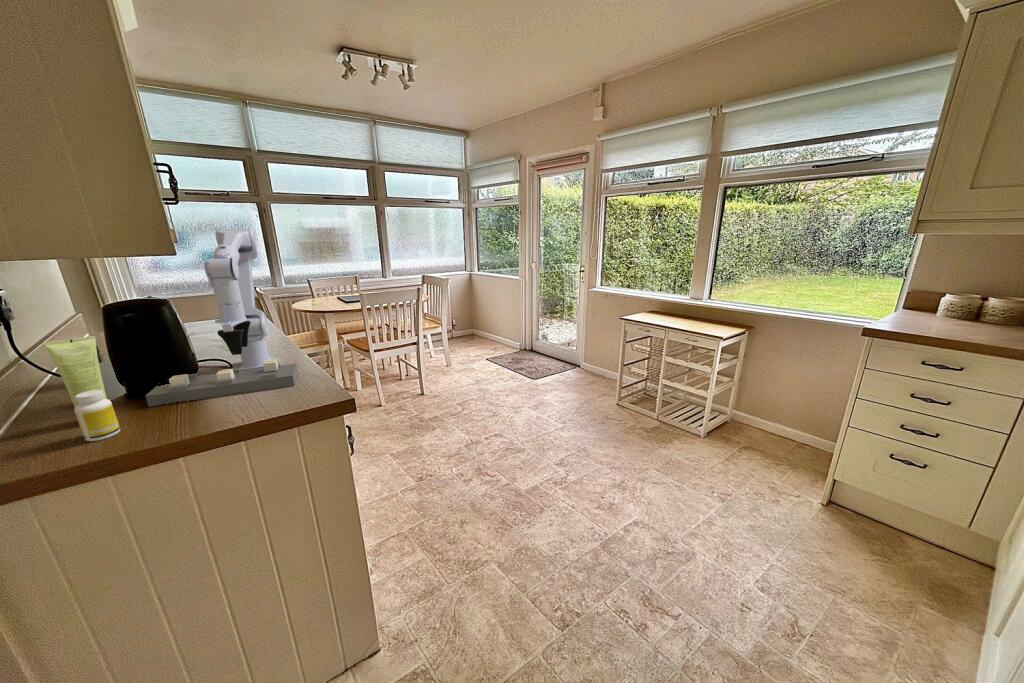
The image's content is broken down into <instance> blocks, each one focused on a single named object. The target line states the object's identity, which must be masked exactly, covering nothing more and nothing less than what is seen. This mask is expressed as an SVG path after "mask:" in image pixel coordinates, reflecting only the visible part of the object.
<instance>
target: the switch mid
mask: <svg viewBox="0 0 1024 683" xmlns="http://www.w3.org/2000/svg"><path fill="white" fill-rule="evenodd" d="M233 369H234V368H226V369H219V370H218V371H217V373H215V374H216V375H217V379H218V380H224V379H234V377H235V376H234V372H233Z"/></svg>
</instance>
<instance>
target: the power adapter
mask: <svg viewBox="0 0 1024 683" xmlns="http://www.w3.org/2000/svg"><path fill="white" fill-rule="evenodd" d="M100 354H101V357H102V360H103V362H102V363H99V367H100V372H101V376H102V381H103V385H104V389H105V393H106V397H107V399H108V400H113V399H114V398H117V397H120V396H122V395H124V394H125V393H126V394H127V391H126V388H125V386H124V387H123V386H122V385H121V384H120V383H119V382H118V380H117V378H116V375H115V372H114V368H113V365H112V363H111V361H109V360H108V361H106V360H105V357H104V354H103V353H100ZM113 401H114V400H113Z"/></svg>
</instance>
